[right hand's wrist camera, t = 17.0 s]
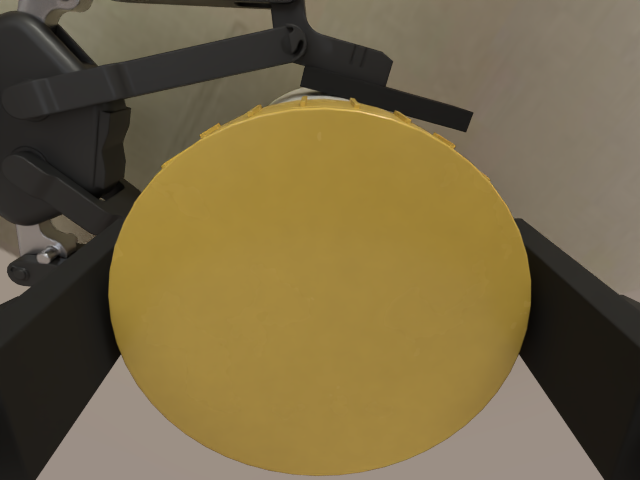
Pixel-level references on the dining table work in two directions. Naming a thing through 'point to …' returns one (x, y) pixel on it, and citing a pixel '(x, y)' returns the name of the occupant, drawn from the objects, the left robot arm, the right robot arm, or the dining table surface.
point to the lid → (319, 289)
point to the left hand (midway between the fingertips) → (419, 224)
